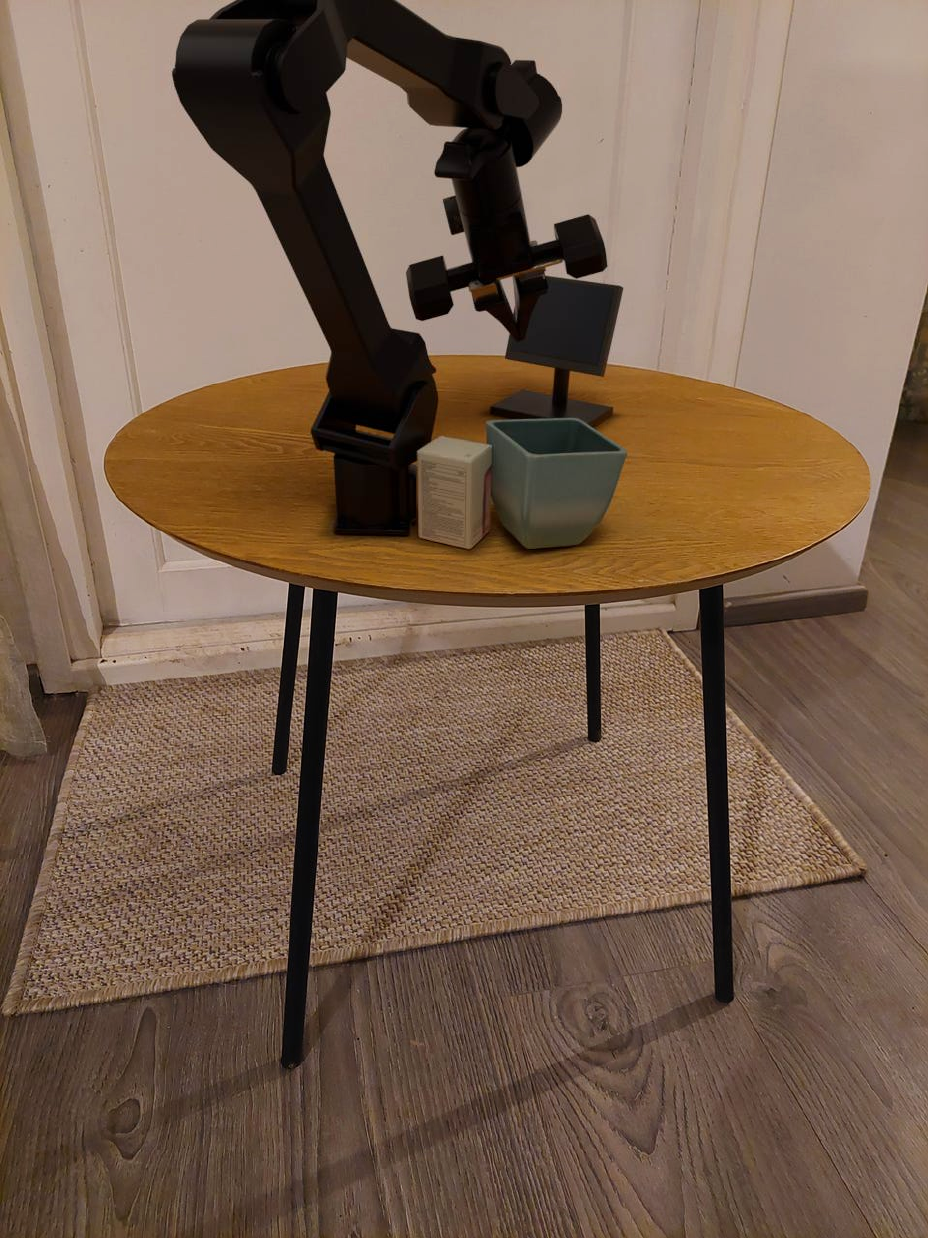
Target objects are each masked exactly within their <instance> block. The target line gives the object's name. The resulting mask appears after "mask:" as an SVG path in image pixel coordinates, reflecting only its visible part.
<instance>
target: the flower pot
mask: <svg viewBox="0 0 928 1238" xmlns="http://www.w3.org/2000/svg"><path fill="white" fill-rule="evenodd" d="M485 424H486V425H485V426H486V427H485V428H486V431H485V433H486V444H489V445H492V470H491V501H492V503H493V506H494V508H495V511H496V513H497V515H498V517H499V519H500V521H501V524H502V526H503V528H504V529H506V530H507V531H508V532H509V533H510V535H512V537H514V538H515V539H516V540H517V541H518V542H519V543H520V544H521V546H523V547H524V548H526V549H529V550H533V549H534V550H535V549H544V548H545V549H546V548H556V547H569V546H570V547H571V546H578V545H580V544H582V542H583V541H584V540H585V539H587V538H588V537H589V536H590V535H591V534H592V533H593V532H594V530H595V529H596V528H597V527H598V525H599V524H600V523H601V521H602V520H603V518H604V516H605V515H606V513H607V511H608V510H609V507H610V505H611V503H612V501H613V497H614V495H615V492H616V489H617V486H618V482H619V480H620V477H621V473H622V472H623V471H622V470H623V468H624V464H625V462H626V458H627V455H628V453H629V452H628V449H626V448H624V447H623V446H621V445H620V444H618V443H617V442H616V441H614V440H612V439H611V438H609V437H608V436H606V435H605V434H604V433H602V432H600V431H598V430H597V429H595V427H594V428H592V427H591V426H589V425H588V424H586V423H585V422H584V421H582V420H580V419H578V418H552V419H493V420H487V421H486V423H485Z"/></svg>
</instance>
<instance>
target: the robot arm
mask: <svg viewBox="0 0 928 1238" xmlns="http://www.w3.org/2000/svg"><path fill="white" fill-rule="evenodd" d="M347 60H350V61H352V62H354V63H356V64H357V65H359V66H361V67H362V68H365V69H366V70H369V71H370V72H372V73H374V74H375V75H378V76H379V77H381V78H383V79H385V80H387V81H388V82H390V83H392V84H394V85H396V86H397V87H399V88H401V90H403V92H405V93H406V101H407V102H406V103H407V106H409V108H410V109H411V110H413V111H414V112H415V114H417V115H418V116H419V117H420V118H421V119H422V120H423V121H424V122H425V123H427V124H428V125H429V126H433V127H446V128H447V127H448V128H463V129H462V130H460V132H458V134H457V135H456V136H455V137H454V138H453V139H452V141H444V144H443V149H442V152H441V154H440V157H438V159H437V161H436V163H435V166H434V171H433V173H434V176H435V178H439V179H451V182H452V183H451V184H452V188H453V191H454V195H451V196H448V197H444V198H442V203H443V207H444V212H445V217H446V220H447V223H448V224H447V225H448V228H449V233H450V235H451V236H455V235H459V234H462V233H464V235H465V241H466V244H467V248H468V253H469V256H470V260H471V262H468V263H464V264H461V265H457V266H453V267H450V268H448V267H447V264H446V260H445V257H444V255H439V256H436V257H432V258H429V259H425V260H421V261H418V262H415V263H411V264H408V267H407V269H406V271H405V277H406V285H407V290H408V297H409V302H410V305H411V309H412V311H413V315H414V318H415V320H417V321H419V322H425V321H428V320H432V319H434V318H439V317H444V316H445V315H449V313H450V312H451V310H452V309H453V308H454V306H455V305H454V299H453V297H452V292H455V291H459V290H462V289H465V288H468V291H469V293H471V298H472V302H473V308H474V310H475V311H476V312H478V313H482V312H487V313H488V314H490V316H491V317H493V318H494V319H495V320H496V321H498V322H499V323H500V324H501V325H502V327H504V329H505V330H506V331H507V332H508V333H509V334H511V336H512V337H513V338H514V339H515V340H516V342H519V341H520V340H521V341H522V340H524V339H525V336H526V332H527V328H528V325H529V321H530V317H531V314H532V312H533V310H534V308H535V305H536V303H537V301H538V299H539V297H540V296H541V295H544V294H546V293H548V291H549V286H548V282H547V279H546V276H547V275H546V272H547V269H546V268H548V267H552V266H555V265H559V264H562V263H563V262H564V268H565V272H566V275H568V276H570V277H572V278H573V279H575V280H578V279H582V278H584V277H588V276H592V275H595V274H600V273H603V272H604V271H605V270H606V269H607V268H608V267H609V266H608V265H609V264H608V258H607V250H606V244H605V241H604V238H603V236H602V233H601V230H600V228H599V225H598V222H597V220H596V218H595V217H594V216H592V215H590V214H588V213H586V214H584V215H581V216H577V217H573V218H570V219H566V220H563V221H559V222H556V223H553V232H554V238H555V239H554V240H549V241H546V242H543V243H539V244H538V241H537V240H535V239H534V240H531V237H530V232H529V227H528V222H527V216H526V210H525V206H524V201H523V194H522V190H521V185H520V179H519V178H520V177H519V173H518V168H521V167H523V166H525V165H527V164H528V163H529V162H531V160H533V158H534V157H535V155H536V154H537V153H538V151H539V150H540V149H541V147H542V146H543V145H544V143H545V142H546V140H547V139H548V138H549V137H550V135H551V134H552V133H553V132H554V130H555V129H556V128H557V126H558V124H559V123H560V121H561V118H562V114H563V102H562V97H561V96H560V95H559V94H558V91H557V90H556V88H555V86H554V85H553V84H552V83H551V81H550V80H548V79H547V78H546V77H544V76H543V75H541V74H540V73H538V71H537V64H536V61H535V60H534V59H533V60H531V59H515V60H514V61H513V62H512V60H511V57H510V55H509V54H508V52H507V51H506V50H505V49H504V48H503V47H502V46H500V45H497V44H493V43H489V42H485V41H482V40H478V39H477V40H476V39H470V38H463V37H457V36H452V35H448V34H446V33H444V32H443V31H441V30H440V29H438V28H437V27H435V26H434V25H433V24H431V23H430V22H428V21H427V20H425V19H424V18H422V16H420V15H418V14H417V13H415V12H414V11H412V10H411V9H409V8H408V7H406V6H405V5H404V4H403V3H401V2H399V1H398V0H234V1H232V2H230V3H228V4H227V5H224V6H223V7H221V8H220V9H218V10H217V11H216V12H214V14H212V15H211V17H209V18H208V19H207V18H205V19H201V18H200V19H196V20H194V21H193V22H191V23H189V24H188V25H187V26H186V27H185V29H184V30H183V32H182V33H181V35H180V36H179V40H178V44H177V47H176V50H175V61H174V67H173V68H172V71H171V77H172V82H173V87H174V89H175V92H176V95H177V97H178V100H179V103H180V105H181V106H182V108H183V110H184V111H185V112H186V114H187V116H188V117H189V118H190V120H191V121H192V123H193V125H194V126H195V128H196V129H197V130H198V132H199V133H200V135H201V136H202V138H203V139H204V141H205V142H206V144H207V145H208V146H209V148H210V149H211V150H212V151H213V152H214V153H215V154H216V155H217V156H218V157H220V158H221V159H222V160H223V161H224V162H225V163H226V164H228V165H229V166H230V167H231V168H232V169H234V170H235V171H236V172H237V173H238V174H239V175H240V176H241V177H243V178H244V179H245V180H246V181H247V182H248V183H249V184H250V185H251V186H252V188H253V189H254V191H255V193H256V195H257V197H258V199H259V201H260V203H261V205H262V207H263V209H264V212H265V213H266V217H267V218H268V220H269V222H270V224H271V226H272V228H273V231H274V233H275V236H276V237H277V240H278V241H279V244H280V245H281V247H282V250H283V251H284V254H285V257H286V258H287V260H288V262H289V264H290V267H291V268H292V269H291V270H292V271H293V273H294V275H295V277H296V279H297V281H298V283H299V285H300V287H301V290H302V292H303V294H304V296H305V298H306V300H307V302H308V305H309V307H310V309H311V311H312V313H313V315H314V317H315V319H316V321H317V324H318V325H319V328H320V330H321V332H322V334H323V337H324V338H325V340H326V342H327V345H328V347H329V350H330V356H329V360H328V365H327V368H326V371H325V372H326V373H325V381H326V384H327V388H328V392H327V394H326V396H325V399H324V401H323V403H322V406H321V407H320V409H319V411H318V413H317V416H316V418H315V420H314V421H313V424H312V426H311V429H310V434H311V438H312V441H313V443H314V446H315V450H317V451H321V452H328V453H332V454H334V455H333V474H334V475H333V479H334V491H335V492H334V494H335V495H334V497H335V513H336V515H335V519H334V522H333V526H332V530H333V533H334V534H347V535H348V534H349V535H351V534H352V535H388V536H389V535H396V536H406V535H409V534H410V533H411V528H412V521H415V520H416V519H417V517H418V469H417V464H414V463H417V451H418V450H419V449H421V448H422V447H424V446H426V445H427V444H429V443H430V442H432V439H433V433H434V428H435V424H436V418H437V413H438V408H439V392H438V388H437V383H436V380H435V378H434V376H433V375H434V374H436V372H437V368H436V367H435V365H434V364H433V363H432V361H431V359H430V357H429V353H428V348H427V344H426V341H425V340H424V338H423V337H422V334H420V333H419V332H416V331H415V332H414V331H410V330H404V329H399V328H392V327H391V325H390V323H389V321H388V318H387V315H386V313H385V311H384V308H383V306H382V303H381V300H380V298H379V295H378V292H377V290H376V287H375V285H374V283H373V282H374V281H373V279H372V278H371V275H370V273H369V270H368V267H367V264H366V262H365V259H364V257H363V254H362V252H361V249H360V247H359V244H358V242H357V240H356V237H355V234H354V232H353V229H352V227H351V223H350V221H349V219H348V217H347V214H346V211H345V209H344V206H343V204H342V201H341V198H340V196H339V192H338V191H337V188H336V185H335V183H334V181H333V178H332V176H331V172H330V170H329V168H328V165H327V162H326V159H325V149H326V144H327V138H328V133H329V127H330V121H331V115H332V111H331V110H332V109H331V105H330V102H329V98H328V94H327V93H328V91H329V90H330V89H331V88H332V87H333V86H334V85H335V84H336V83H337V81H338V80H339V79H340V78H341V77H342V76H343V75H344V74H345V71H346V70H347ZM509 278H512V283H513V299H514V307H515V312H516V320H515V318H514V315H513V313H514V311H513V310H512V307H511V304H510V302H509V299H508V297H507V294H506V292H505V289H504V287H503V284H502V280H506V279H509ZM516 323H517V324H516ZM357 426H359V427H362V428H363V427H364V428H368V429H372V430H375V431H380V432H383V433H388V434H393V436H392V437H387V436H383V435H379V434H376V433H372V432H366V431H363V430H358V429H356V428H357Z"/></svg>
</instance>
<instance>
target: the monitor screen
mask: <svg viewBox="0 0 928 1238" xmlns="http://www.w3.org/2000/svg"><path fill="white" fill-rule="evenodd" d="M546 279H547V282H548V286H549V291H548V293H546V294H544V295H541V296H540V297H539V299H538V301H537V303H536V305H535V308H534V310H533V312H532V314H531V317H530V321H529V325H528V328H527V332H526V336H525V339H524V340H522V341H521V340H520V341H519V342H516V340H515V339H514V338H513V337H512V336H511V334H510V333H509V335H508V339H507V346H506V349H505V356H504V359H505V360H509V361H514V362H521V363H525V364H530V365H536V366H541V367H547V368H551V369H554V368H557V369H562V370H568V371H570V372H574V373H579V374H584V375H589V376H590V375H592V376H595V377H602V378H604V377H605V373H606V369H607V365H608V362H609V361H608V360H609V356H610V352H611V348H612V342H613V338H614V334H615V333H614V332H615V328H616V325H617V320H618V316H619V310H620V306H621V302H622V297H623V292H624V286H621V285H618V284H612V283H611V284H610V283H604V282H595V281H588V280H580V279H575V278H565V277H559V276H551V275H546ZM513 315H514V318H515V320H516V312H515V306H514V307H513ZM516 324H517V323H516Z"/></svg>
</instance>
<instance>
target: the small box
mask: <svg viewBox="0 0 928 1238" xmlns="http://www.w3.org/2000/svg"><path fill="white" fill-rule="evenodd" d="M416 466H417V477H418V508H417V517H418V519H417V520H418V522H417V523H418V525H417V527H418V529H417V530H418V538H419V539H423V540H428V541H430V542H436V543H441V544H445V545H449V546H453V547H457V548H462V549H465V550H471V549H472V548H474V547H475V546H476V545H477V544H479V542H480V541H481V540H482V539H483V538H484V537H485V536H486V535H487V534H488V533H489V532H490V531H491V511H492V510H491V508H492V507H491V506H492V497H491V470H492V445H489V444H487V443H483V442H478V441H473V440H466V439H461V438H456V437H449V436H445V435H439V436H438V437H436V438H435V439H434V440H431V442H430V443H429V444H427V445H426V446H424V447H422V448H421V449H419V450H418V451H417V461H416Z"/></svg>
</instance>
